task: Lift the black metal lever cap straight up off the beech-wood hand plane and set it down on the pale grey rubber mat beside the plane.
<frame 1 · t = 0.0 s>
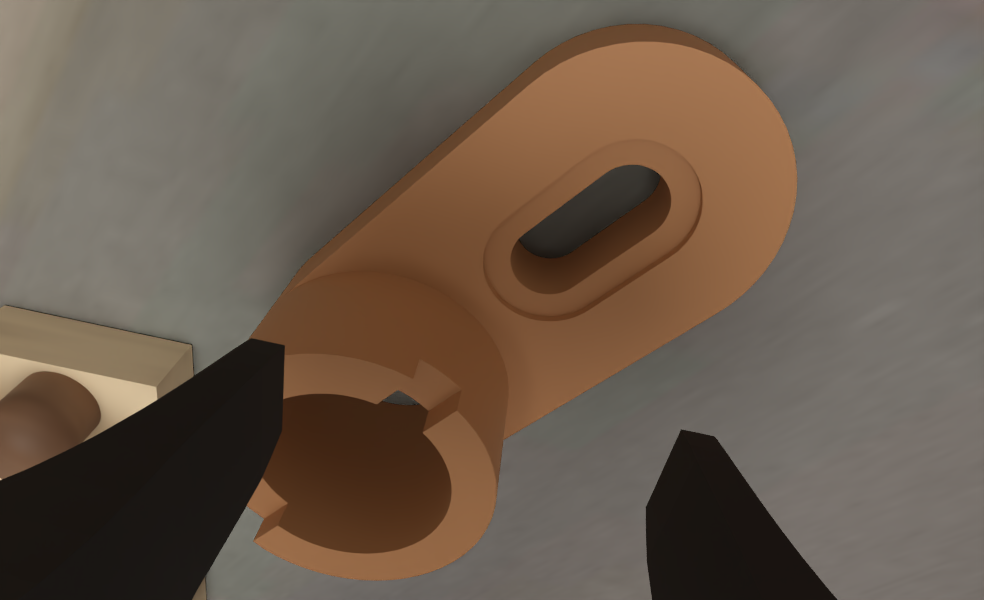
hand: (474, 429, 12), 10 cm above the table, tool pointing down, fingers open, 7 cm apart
bracket: (501, 258, 22), on the table
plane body: (127, 522, 30), on the table
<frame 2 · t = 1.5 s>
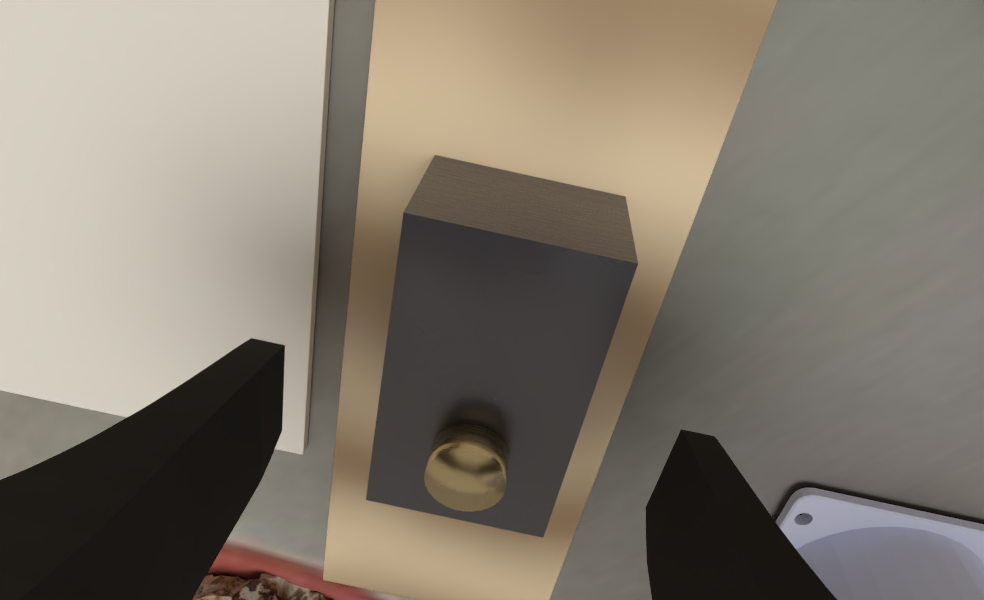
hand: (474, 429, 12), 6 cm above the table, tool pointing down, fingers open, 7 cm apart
lever cap: (497, 316, 16), point 2 cm above the table, touching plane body
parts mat: (134, 185, 18), on the table
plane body: (506, 266, 18), on the table
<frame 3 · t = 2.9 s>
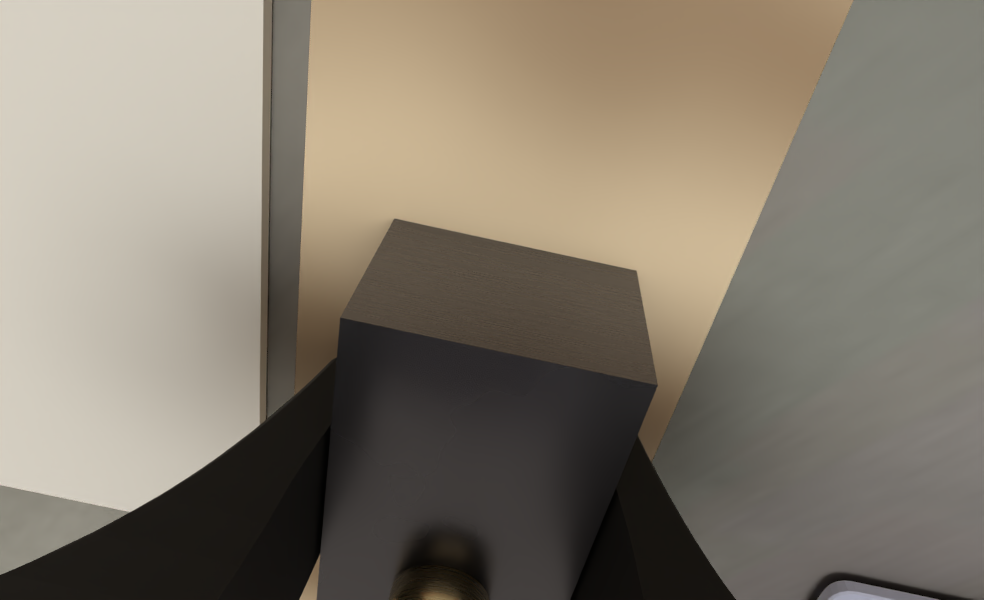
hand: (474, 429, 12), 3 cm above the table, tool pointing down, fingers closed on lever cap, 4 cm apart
lever cap: (477, 407, 13), point 2 cm above the table, touching gripper, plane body
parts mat: (42, 238, 15), on the table
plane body: (490, 334, 15), on the table
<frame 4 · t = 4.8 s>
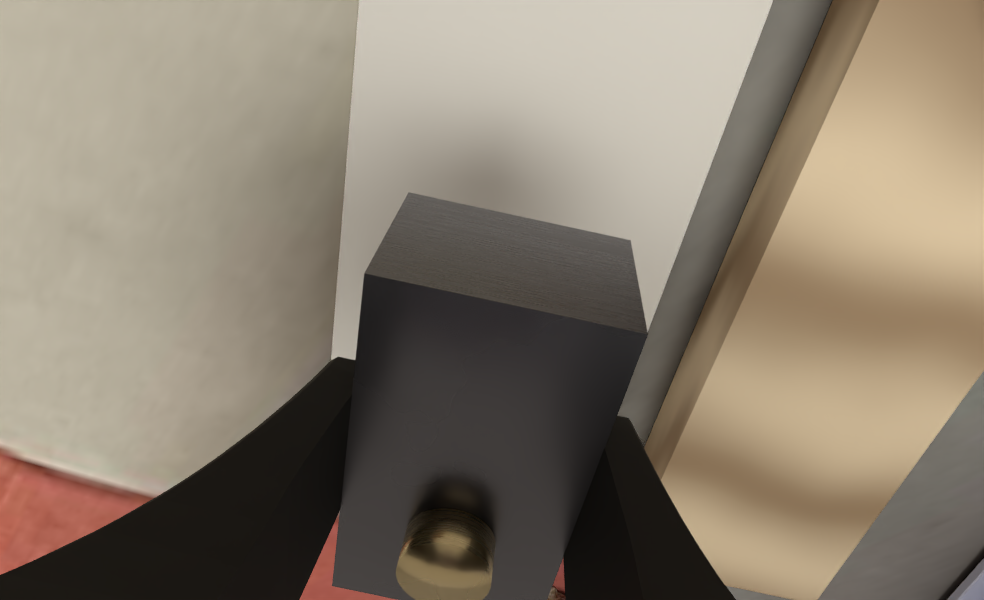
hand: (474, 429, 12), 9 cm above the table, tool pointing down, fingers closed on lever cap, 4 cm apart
lever cap: (484, 371, 14), point 8 cm above the table, touching gripper
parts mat: (511, 218, 20), on the table
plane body: (834, 288, 20), on the table
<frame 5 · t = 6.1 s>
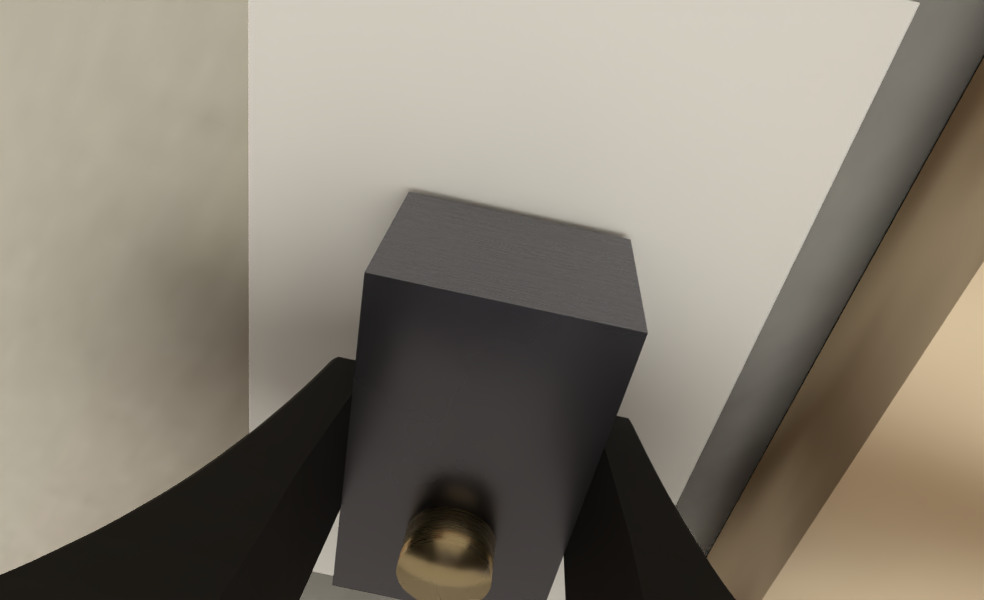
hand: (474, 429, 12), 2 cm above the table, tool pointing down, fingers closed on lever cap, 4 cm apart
lever cap: (484, 370, 14), point 1 cm above the table, touching gripper
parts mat: (488, 351, 14), on the table
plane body: (944, 448, 14), on the table
when the fingers open (2 cm above the table, at t = 6.9 s): lever cap stays where it is, resting on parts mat.
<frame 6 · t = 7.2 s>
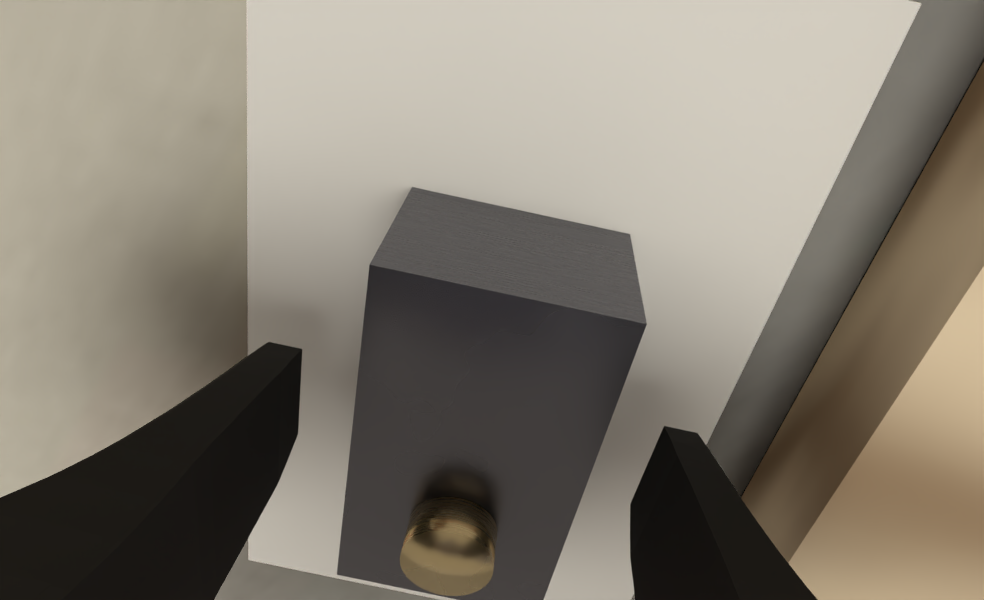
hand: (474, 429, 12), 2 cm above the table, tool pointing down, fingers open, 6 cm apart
lever cap: (485, 363, 14), resting on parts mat
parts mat: (487, 352, 14), on the table
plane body: (945, 450, 14), on the table
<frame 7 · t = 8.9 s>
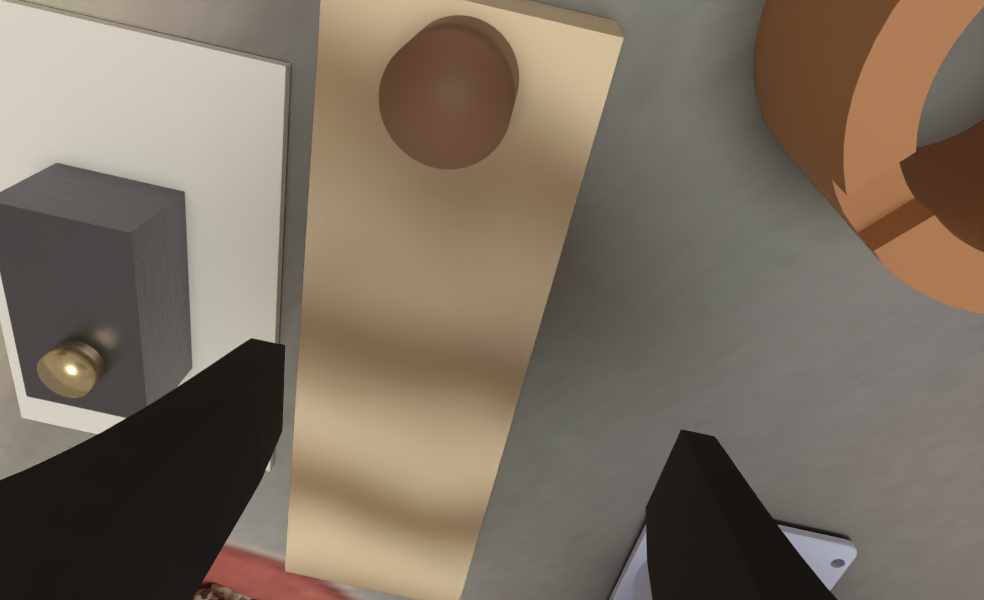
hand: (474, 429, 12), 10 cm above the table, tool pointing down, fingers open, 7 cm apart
lever cap: (130, 273, 22), resting on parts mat
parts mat: (136, 268, 23), on the table
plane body: (423, 332, 23), on the table
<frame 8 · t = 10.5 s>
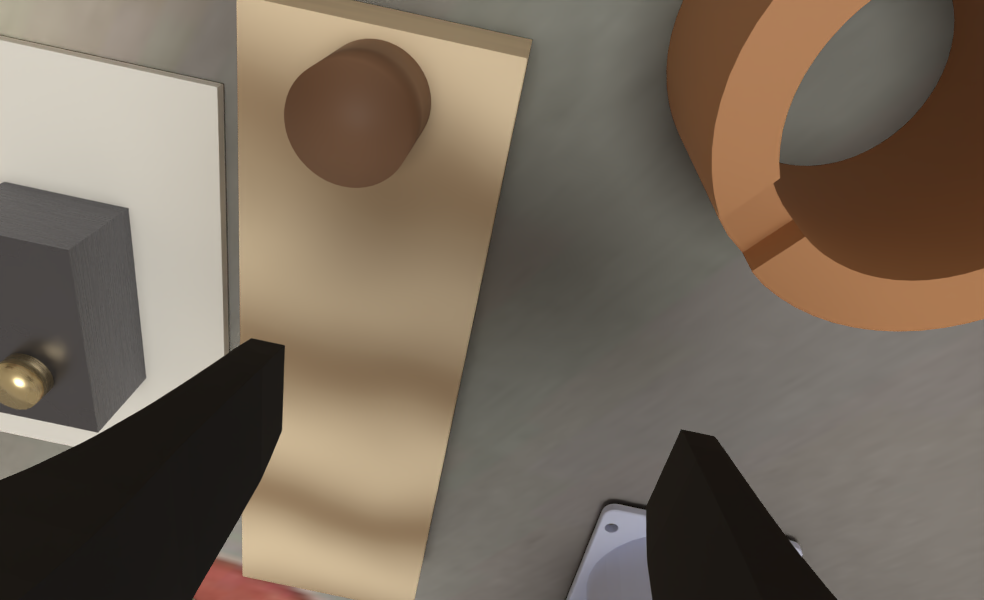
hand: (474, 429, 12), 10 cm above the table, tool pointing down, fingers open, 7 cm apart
lever cap: (81, 287, 23), resting on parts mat
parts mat: (88, 282, 23), on the table
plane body: (367, 341, 24), on the table
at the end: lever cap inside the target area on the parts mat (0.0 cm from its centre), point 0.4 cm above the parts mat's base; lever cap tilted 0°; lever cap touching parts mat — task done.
